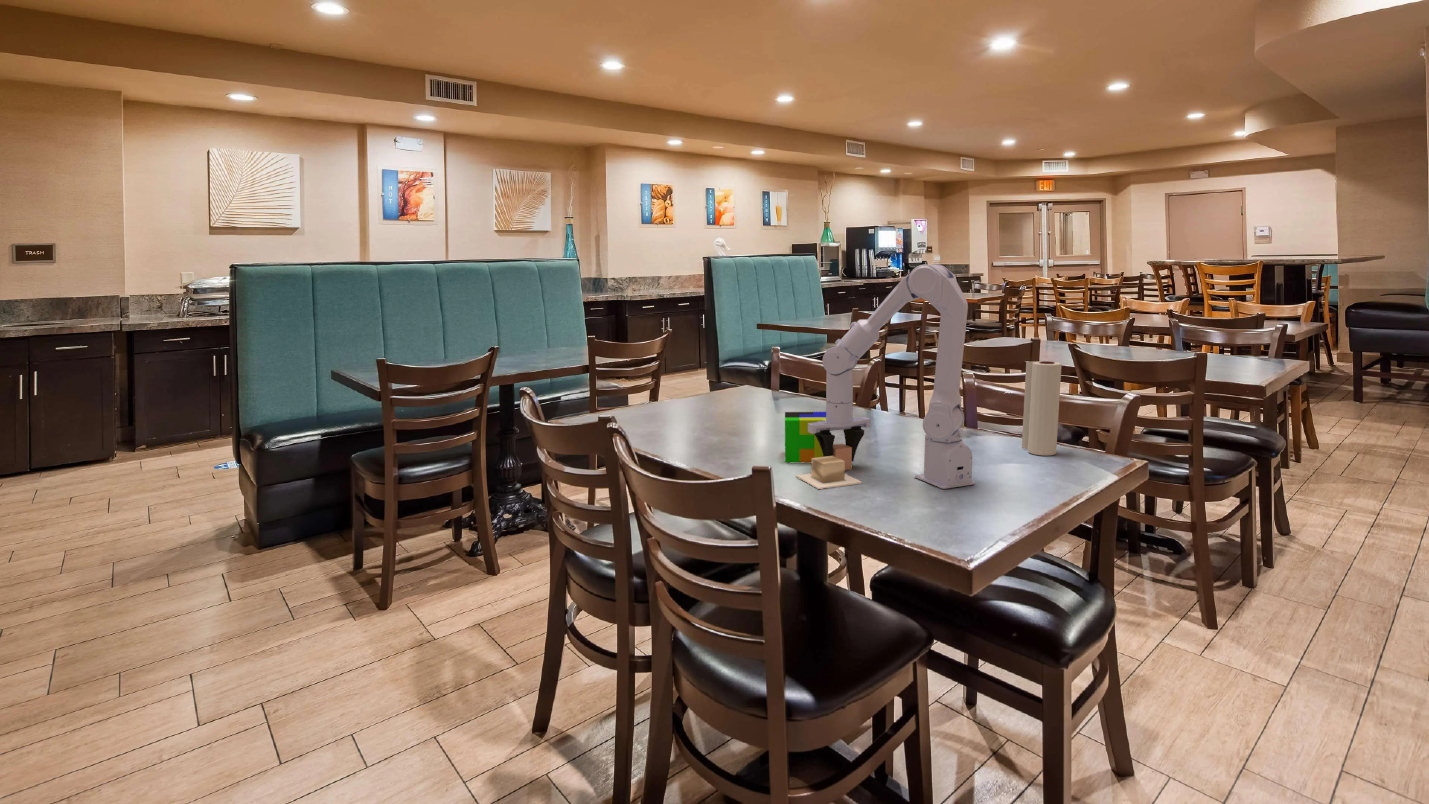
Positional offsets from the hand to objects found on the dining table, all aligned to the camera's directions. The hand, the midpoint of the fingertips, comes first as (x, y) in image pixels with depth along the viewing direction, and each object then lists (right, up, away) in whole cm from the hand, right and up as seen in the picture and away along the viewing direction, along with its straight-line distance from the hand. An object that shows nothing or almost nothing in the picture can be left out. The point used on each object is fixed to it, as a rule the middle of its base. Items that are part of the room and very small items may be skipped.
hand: (839, 461), depth 162 cm
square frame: (-4, -3, -9) cm, 10 cm away
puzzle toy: (-6, 0, +10) cm, 12 cm away
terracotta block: (0, -1, 0) cm, 2 cm away
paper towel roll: (+49, +1, +9) cm, 50 cm away
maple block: (-4, -3, -9) cm, 10 cm away
